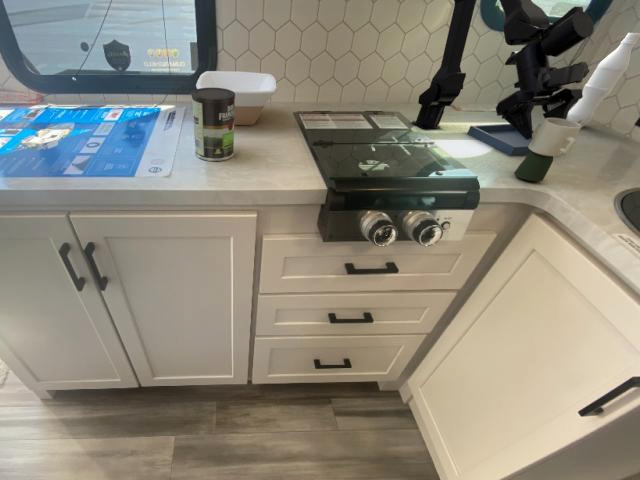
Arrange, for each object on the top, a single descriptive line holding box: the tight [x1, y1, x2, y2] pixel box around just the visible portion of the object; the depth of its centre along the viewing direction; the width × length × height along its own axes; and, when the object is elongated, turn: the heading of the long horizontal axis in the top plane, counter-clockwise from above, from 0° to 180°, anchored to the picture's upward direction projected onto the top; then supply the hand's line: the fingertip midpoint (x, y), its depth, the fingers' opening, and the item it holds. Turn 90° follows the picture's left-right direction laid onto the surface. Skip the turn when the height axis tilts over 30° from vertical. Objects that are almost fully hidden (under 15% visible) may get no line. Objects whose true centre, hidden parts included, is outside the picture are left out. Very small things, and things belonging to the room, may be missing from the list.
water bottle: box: [566, 32, 640, 128], centre depth 109 cm, size 7×7×25 cm
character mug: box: [513, 118, 583, 182], centre depth 81 cm, size 11×7×13 cm, turn 7°
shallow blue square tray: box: [466, 123, 535, 157], centre depth 103 cm, size 18×18×2 cm
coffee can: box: [190, 88, 235, 162], centre depth 85 cm, size 10×10×14 cm
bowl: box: [195, 70, 278, 126], centre depth 107 cm, size 24×25×11 cm
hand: (544, 137), depth 80 cm, fingers open, 9 cm apart
